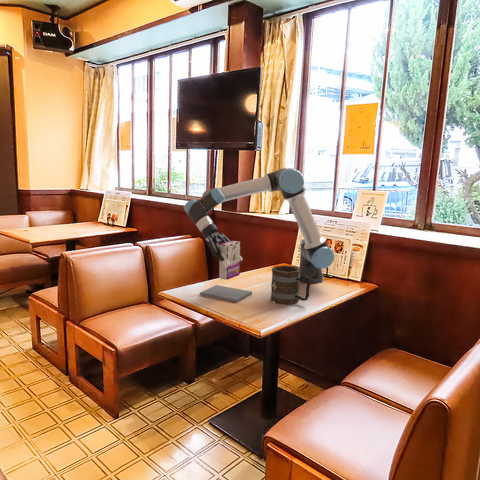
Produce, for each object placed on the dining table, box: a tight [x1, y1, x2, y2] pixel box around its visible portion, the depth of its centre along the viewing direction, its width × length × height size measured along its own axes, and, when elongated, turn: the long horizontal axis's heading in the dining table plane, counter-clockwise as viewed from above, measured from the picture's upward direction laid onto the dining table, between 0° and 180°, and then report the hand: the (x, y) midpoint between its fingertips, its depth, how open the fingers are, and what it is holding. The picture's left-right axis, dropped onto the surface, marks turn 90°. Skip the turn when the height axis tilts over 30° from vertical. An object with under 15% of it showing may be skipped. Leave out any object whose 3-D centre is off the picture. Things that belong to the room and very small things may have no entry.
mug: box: [270, 265, 312, 306], centre depth 186 cm, size 20×14×15 cm
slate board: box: [199, 284, 253, 304], centre depth 194 cm, size 20×15×2 cm
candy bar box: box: [218, 240, 241, 281], centre depth 190 cm, size 11×5×16 cm, turn 148°
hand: (234, 263), depth 189 cm, fingers closed on candy bar box, 11 cm apart
